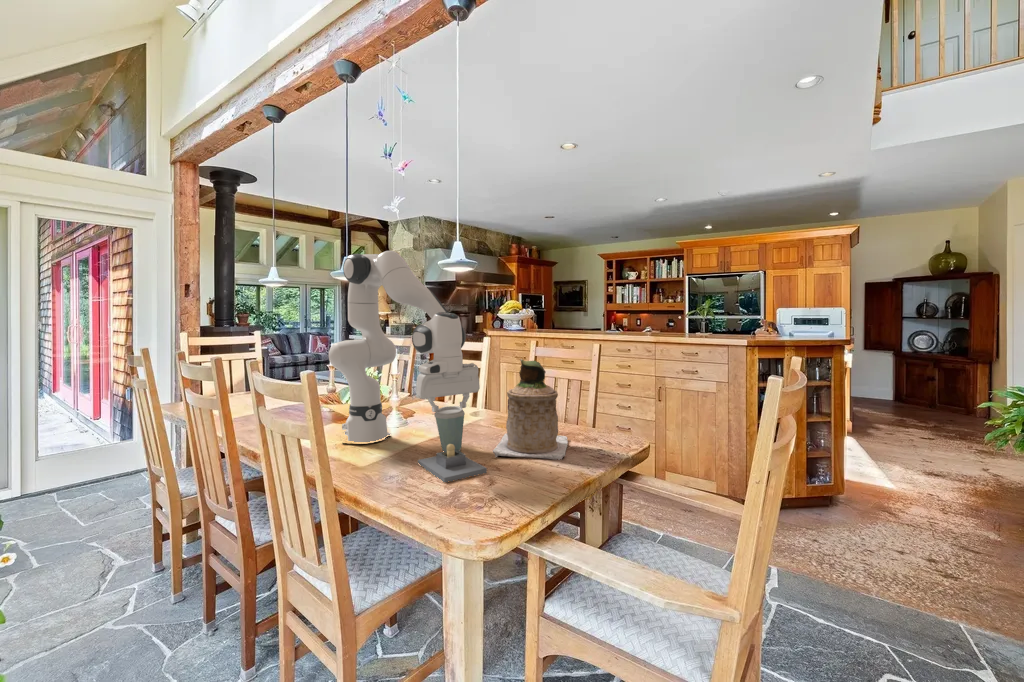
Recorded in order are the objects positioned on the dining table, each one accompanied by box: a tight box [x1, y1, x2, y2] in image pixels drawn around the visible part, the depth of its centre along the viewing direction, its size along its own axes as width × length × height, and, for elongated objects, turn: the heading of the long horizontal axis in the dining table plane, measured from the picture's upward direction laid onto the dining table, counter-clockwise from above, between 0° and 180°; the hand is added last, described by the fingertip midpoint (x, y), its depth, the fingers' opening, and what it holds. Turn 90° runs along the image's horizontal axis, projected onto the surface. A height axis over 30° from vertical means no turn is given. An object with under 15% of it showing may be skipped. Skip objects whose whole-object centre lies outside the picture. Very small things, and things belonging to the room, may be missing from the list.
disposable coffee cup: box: [434, 405, 465, 452], centre depth 164 cm, size 11×11×15 cm
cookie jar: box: [492, 358, 569, 461], centre depth 165 cm, size 25×25×32 cm
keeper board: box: [417, 444, 488, 483], centre depth 146 cm, size 20×14×8 cm
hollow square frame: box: [435, 449, 467, 469], centre depth 146 cm, size 7×7×3 cm
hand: (449, 409), depth 145 cm, fingers open, 8 cm apart
